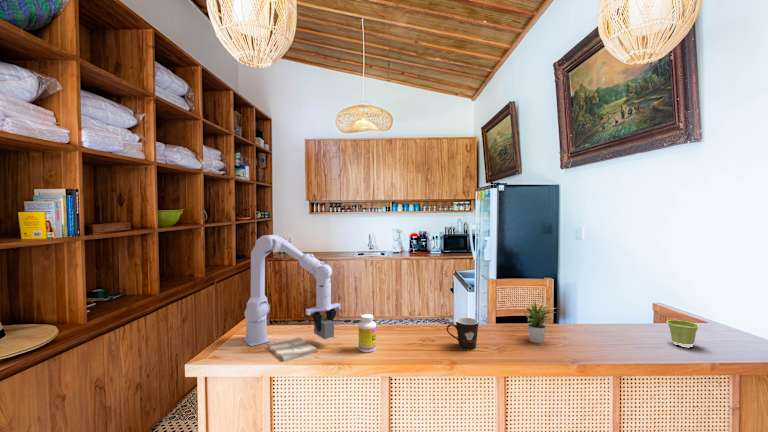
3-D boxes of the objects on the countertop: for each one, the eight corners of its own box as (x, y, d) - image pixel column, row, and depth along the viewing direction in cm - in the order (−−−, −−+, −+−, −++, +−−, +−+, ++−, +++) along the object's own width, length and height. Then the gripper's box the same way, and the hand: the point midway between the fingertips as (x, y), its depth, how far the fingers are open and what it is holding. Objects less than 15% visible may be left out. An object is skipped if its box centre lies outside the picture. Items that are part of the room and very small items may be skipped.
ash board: (267, 347, 132) (267, 344, 132) (299, 339, 140) (299, 336, 140) (283, 361, 119) (283, 357, 119) (317, 351, 127) (317, 348, 127)
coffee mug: (480, 344, 134) (480, 319, 134) (476, 352, 126) (476, 325, 126) (451, 340, 139) (451, 315, 139) (445, 347, 131) (445, 321, 131)
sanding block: (314, 333, 137) (313, 318, 137) (322, 331, 139) (322, 316, 139) (324, 339, 130) (324, 324, 130) (334, 337, 132) (333, 322, 132)
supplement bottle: (373, 353, 126) (373, 318, 126) (356, 352, 127) (356, 317, 127) (377, 346, 132) (377, 313, 132) (361, 345, 133) (361, 312, 133)
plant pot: (672, 348, 129) (672, 325, 129) (662, 339, 138) (662, 318, 137) (704, 352, 125) (704, 328, 125) (692, 343, 134) (692, 321, 134)
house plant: (546, 351, 126) (546, 308, 126) (511, 341, 137) (511, 301, 137) (562, 342, 136) (561, 301, 136) (528, 333, 146) (528, 295, 146)
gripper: (311, 300, 127) (311, 336, 127) (344, 294, 136) (344, 328, 136) (303, 296, 133) (303, 331, 133) (335, 291, 142) (335, 323, 142)
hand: (323, 329), depth 135 cm, fingers closed on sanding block, 4 cm apart
